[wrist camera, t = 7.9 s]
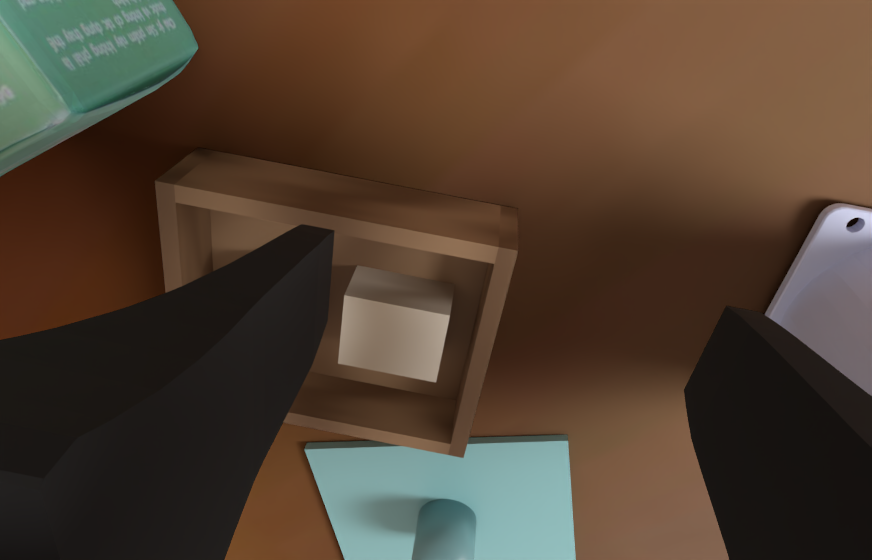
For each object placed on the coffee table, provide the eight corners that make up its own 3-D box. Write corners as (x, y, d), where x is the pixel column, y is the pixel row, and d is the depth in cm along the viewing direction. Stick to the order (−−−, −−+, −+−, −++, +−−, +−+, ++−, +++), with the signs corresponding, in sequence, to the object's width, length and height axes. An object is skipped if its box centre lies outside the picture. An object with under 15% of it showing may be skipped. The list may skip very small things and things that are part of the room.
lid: (566, 423, 27) (574, 498, 23) (575, 563, 32) (582, 641, 28) (310, 433, 29) (283, 503, 25) (356, 563, 34) (338, 636, 30)
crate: (518, 208, 21) (518, 251, 18) (468, 403, 26) (463, 458, 23) (198, 147, 21) (154, 180, 19) (209, 353, 26) (176, 401, 23)
